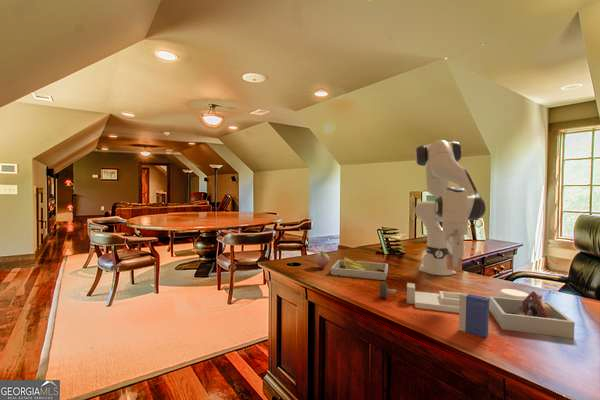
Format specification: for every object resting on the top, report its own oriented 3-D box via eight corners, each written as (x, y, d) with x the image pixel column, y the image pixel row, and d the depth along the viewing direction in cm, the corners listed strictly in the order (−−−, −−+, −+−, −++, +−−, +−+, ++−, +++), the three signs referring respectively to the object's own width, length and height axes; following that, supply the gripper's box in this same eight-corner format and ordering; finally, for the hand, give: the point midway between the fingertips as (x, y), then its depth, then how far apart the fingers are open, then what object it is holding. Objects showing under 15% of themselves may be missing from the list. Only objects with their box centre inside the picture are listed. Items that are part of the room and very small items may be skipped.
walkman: (488, 334, 98) (489, 297, 97) (486, 338, 96) (487, 299, 95) (461, 327, 103) (462, 291, 103) (458, 329, 101) (459, 293, 101)
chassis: (406, 295, 134) (407, 280, 134) (466, 301, 127) (467, 286, 126) (406, 306, 121) (407, 290, 121) (473, 314, 113) (474, 297, 113)
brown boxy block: (445, 266, 125) (446, 252, 124) (459, 267, 123) (460, 253, 123) (447, 269, 120) (447, 254, 120) (461, 270, 118) (462, 255, 118)
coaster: (515, 306, 123) (516, 297, 123) (494, 297, 133) (494, 289, 132) (535, 303, 126) (535, 295, 125) (512, 295, 135) (512, 287, 135)
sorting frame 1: (338, 265, 185) (338, 259, 185) (387, 269, 176) (388, 263, 176) (330, 274, 165) (330, 268, 165) (385, 280, 156) (385, 273, 156)
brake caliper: (503, 309, 112) (524, 283, 112) (527, 328, 112) (549, 302, 112) (524, 323, 101) (548, 294, 100) (551, 344, 101) (576, 315, 100)
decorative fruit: (312, 266, 182) (312, 249, 181) (325, 265, 184) (325, 248, 184) (317, 270, 173) (317, 252, 172) (331, 269, 175) (331, 252, 175)
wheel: (380, 294, 134) (380, 280, 134) (396, 296, 132) (397, 282, 131) (379, 299, 128) (379, 284, 128) (396, 301, 126) (396, 286, 126)
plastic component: (379, 269, 165) (365, 264, 161) (374, 282, 164) (361, 278, 160) (355, 261, 183) (342, 256, 178) (351, 273, 182) (338, 268, 177)
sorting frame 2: (488, 309, 119) (489, 296, 119) (548, 316, 113) (549, 302, 113) (502, 329, 102) (502, 313, 102) (573, 338, 96) (574, 322, 96)
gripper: (468, 232, 110) (467, 271, 111) (459, 226, 129) (458, 259, 130) (449, 232, 112) (448, 270, 113) (442, 225, 131) (442, 258, 132)
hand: (453, 264), depth 121 cm, fingers closed on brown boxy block, 5 cm apart
